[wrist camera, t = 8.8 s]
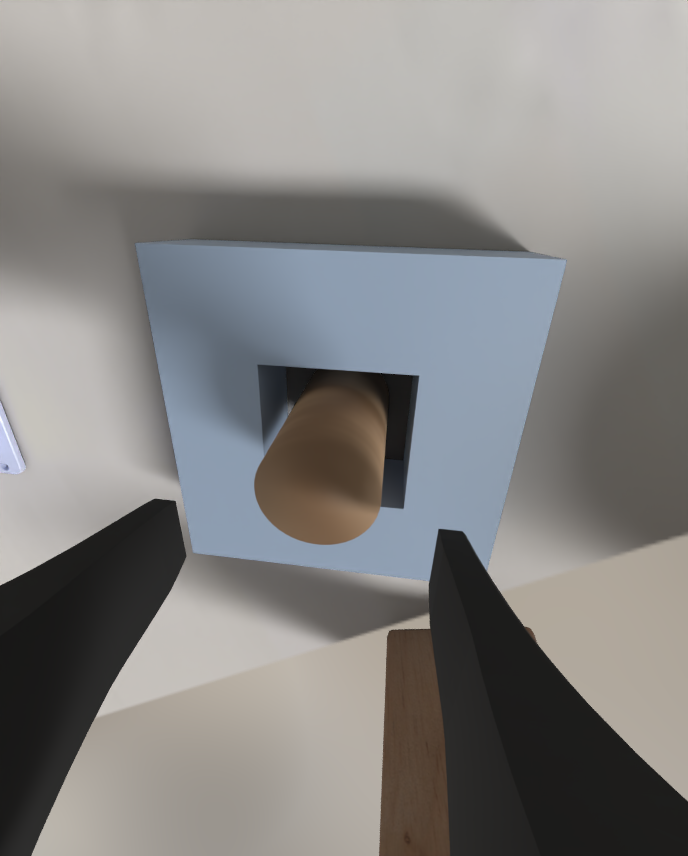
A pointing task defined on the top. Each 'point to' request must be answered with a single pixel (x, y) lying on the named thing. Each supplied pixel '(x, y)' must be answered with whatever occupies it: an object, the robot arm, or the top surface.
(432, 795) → the wooden block
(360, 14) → the top surface
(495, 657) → the robot arm
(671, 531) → the top surface
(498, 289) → the socket
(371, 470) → the peg
